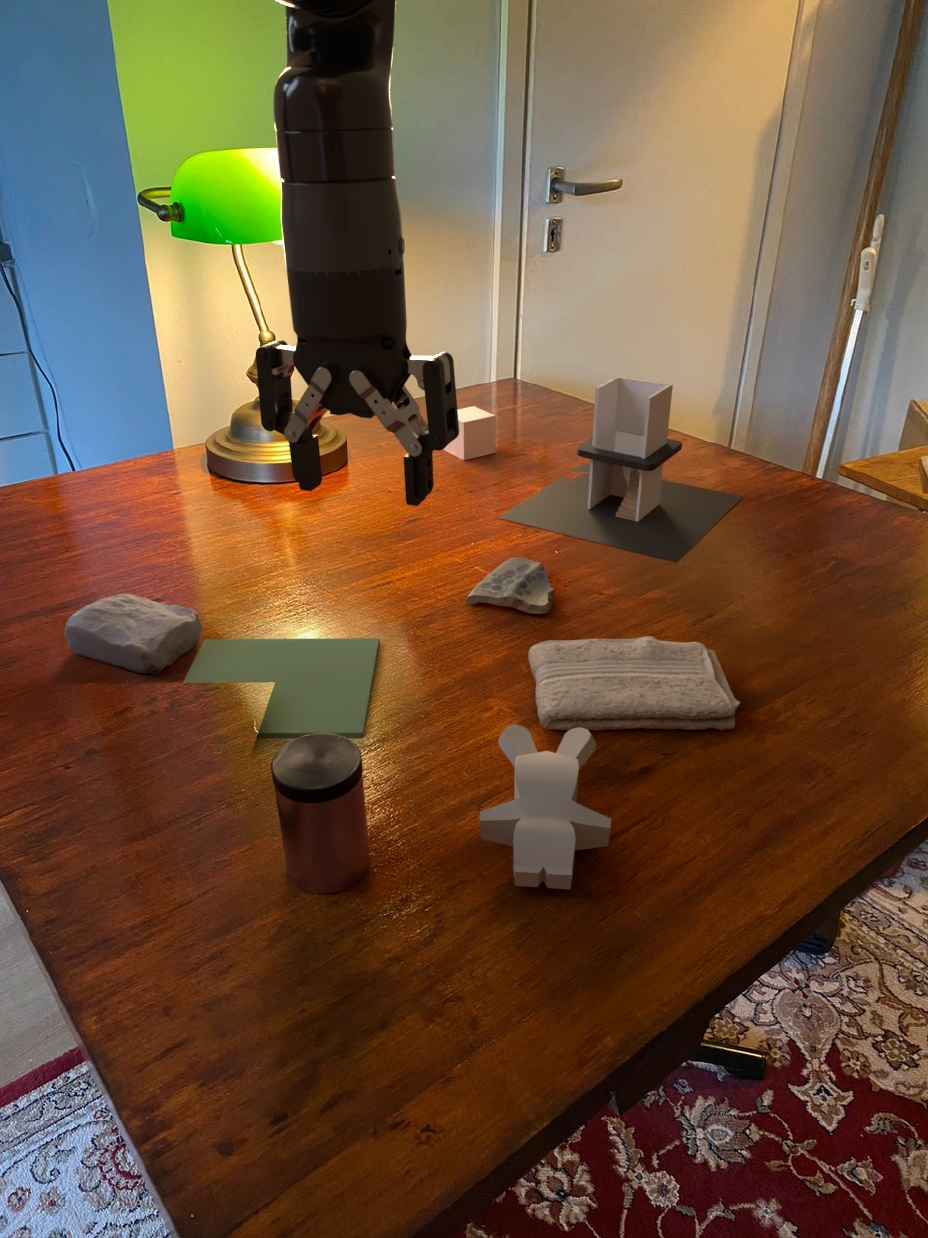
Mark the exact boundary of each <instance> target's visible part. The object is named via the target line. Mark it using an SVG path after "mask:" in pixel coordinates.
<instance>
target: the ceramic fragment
mask: <svg viewBox="0 0 928 1238" xmlns="http://www.w3.org/2000/svg"><path fill="white" fill-rule="evenodd" d="M554 593H555V590H554V588H553V587H552V586H551V584H550V580H549V577H548V574H547V571H546V569H545V567H544V565H543V563H542V562H541V561H534V560H531V559H528V558H526V557H523V556H517V557H516V556H515V557H510V558H507V559H506V560H505V561H503V562H501V564H499V565H498V566H497V567H495V569H493V570H492V571H490V573H488V574H487V575H486V576H485V577H484V578H483V579H482V580H481V581H479V582H478V583H477V584H476V585H475V587H473V589H472V590H471V591H470V592H469V594H468V595H467V597H466V598H465V604H467V605H470V606H471V605H475V604H479V603H480V604H482V603H483V604H485V603H486V604H490V605H493V606H499V607H509V608H514V609H516V610H519V611H521V612H525V613H528V614H533V615H542V614H548V613H549V612H551V611H552V606H553V602H554V599H555V594H554Z"/></svg>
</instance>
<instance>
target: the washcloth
mask: <svg viewBox="0 0 928 1238" xmlns="http://www.w3.org/2000/svg"><path fill="white" fill-rule="evenodd" d="M527 659H528V663H529V666H530V671H531V674H532V677H533V678H534V680H535V689H534V691H535V705H536V708H537V710H536V712H537V714H538V718H539V723H540V725H541V726H542V728H543V729H545V730H549V731H551V730H554V731H566V732H568V731H569V730H571V729H574V728H579V727H581V728H585V729H588V731H604V730H632V729H640V728H641V729H646V730H648V729H652V730H655V729H656V730H659V729H661V730H675V729H679V730H680V729H681V730H683V731H688V730H690V731H696V730H697V731H698V730H707V729H714V730H718V731H722V732H723V731H724V730H733V729H734V728H735V727H736V717H735V716H736V710H737V709H738V707H739V706H740V705H741V702H740V701H739V700H737V698H735V695H734V693H733V692H732V690H731V686H730V685H729V682H728V680H727V677H726V675H725V672H724V670H723V667H722V665H721V663H720V660H719V659H718V657H717V654H716V651H715V650H713V649H708V648H706V645H705V644H703V643H702V642H699V641H691V642H690V641H689V642H684V641H683V642H682V641H679V642H678V641H667V640H660V639H657V638H656V637H655V636H651V635H645V636H641V637H636V638H587V639H574V640H573V639H572V640H571V639H568V640H567V639H566V640H564V639H563V640H557V639H556V640H554V639H550V640H545V641H542V642H539V643H535V644H534V645H532V646H531V647H530V648H529V650H528V654H527Z"/></svg>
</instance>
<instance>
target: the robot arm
mask: <svg viewBox="0 0 928 1238" xmlns="http://www.w3.org/2000/svg"><path fill="white" fill-rule="evenodd" d="M275 1H276V2H279V4H283V5H285V6H284V7H285V26H286V27H285V28H286V66H285V69H284V70H283V71H282V72H281V74H280V75H279V76H278V78H277V80H276V81H275V85H274V87H273V88H274V89H273V98H272V99H273V100H272V101H273V106H272V107H273V121H274V130H275V140H276V149H277V159H278V167H279V176H280V179H281V180H280V191H281V192H280V194H281V197H280V200H281V201H280V224H281V234H282V246H283V251H284V262H285V270H286V271H285V272H286V281H287V289H288V298H289V299H288V300H289V307H290V317H291V326H292V329H293V333H294V334H295V335H296V346H291V345H288V343H287V341H285V340H284V339H276V340H274V341H272V342H269V343H267V344H264V345H262V346H259V347H257V349H256V351H255V362H256V375H257V387H258V388H257V389H258V400H259V413H260V414H259V415H260V424H261V426H262V429H264V430H265V431H267V432H273V431H274V432H277V433H278V434H281V435H282V436H284V438H285V440H286V441H287V442H288V446H289V454H290V455H289V456H290V463H291V467H292V468H291V471H292V477H293V479H294V481H295V482H296V483H298V487H299V489H300V490H301V491H305V492H312V491H314V490H315V489H317V488H318V487H319V486H321V485H322V483H323V472H322V462H321V453H320V443H319V435H318V434H314V431H315V430H316V428H317V427H318V425H319V424H320V422H321V420H322V419H323V417H324V416H325V414H326V413H327V412H328V411H329V415H332V416H343V415H348V414H350V415H353V416H356V417H358V418H360V419H361V418H362V419H373V418H374V417H377V419H378V421H379V422H380V423H381V425H382V426H383V427H384V429H385V430H386V431H387V432H390V433H393V435H394V437H396V439H397V440H398V442H399V443H400V444H401V447H403V449H404V450H405V451H406V454H405V455H404V456H403V471H404V490H405V491H404V492H405V503H406V505H407V506H414V507H419V506H420V504H421V503H423V502H424V501H425V499H426V498H427V497H428V496H429V495H430V494H431V493H432V491H433V488H434V486H435V484H434V458H433V456H434V455H433V454H434V453H433V452H434V451H438V452H439V451H440V452H441V451H444V450H443V449H444V448H445V447H446V446H447V445H448V444H449V443H450V442H452V441H453V440H455V439H456V438H457V437H458V435H459V423H458V411H457V410H458V402H457V401H458V400H457V399H458V398H457V387H456V374H455V363H454V362H455V361H454V357H453V356H452V355H451V354H450V353H449V352H448V351H440V353H439V354H435V355H433V356H432V355H412V353H411V351H410V348H409V346H408V342H407V327H408V322H407V319H408V318H407V303H406V302H407V301H406V299H407V298H406V281H405V280H406V279H405V262H404V261H405V260H404V254H405V250H406V249H405V248H406V247H405V238H404V237H403V222H402V213H401V207H400V201H399V196H398V188H397V179H396V177H395V176H396V164H395V162H396V160H395V144H394V142H395V139H394V129H393V128H394V124H393V114H392V104H391V94H390V93H391V91H390V89H391V74H392V65H393V53H394V42H395V41H394V40H395V24H396V23H395V22H396V8H397V0H275ZM295 369H296V371H297V372H298V374H299V375H300V376H301V378H302V379H303V381H304V382H305V383H306V385H307V387H306V389H305V391H304V393H303V394H302V396H301V397H300V399H299V401H298V402H297V404H296V405H295V407H293V393H292V374H293V373H294V372H295ZM411 375H412V376H413V377H414V378H415V379H416V383H417V386H418V388H419V389H421V390H422V391H423V392H424V398H425V399H424V400H425V410H426V420H427V421H426V420H425V418H424V417H423V416H422V415H421V410H420V406H419V404H418V402H417V401H416V400H415V398H414V397H413V395H412V394H411V392H410V391H409V389H407V387H406V383H407V382H408V380H409V379H410V377H411ZM393 404H394V405H395V406H394V405H393ZM395 407H396V408H395ZM293 409H294V410H293Z"/></svg>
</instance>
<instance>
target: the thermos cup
mask: <svg viewBox="0 0 928 1238" xmlns="http://www.w3.org/2000/svg"><path fill="white" fill-rule="evenodd" d="M363 771H364V767H363V756H362V752H361V750H360V748H359V746H358V745H357V744H356V743H355V742H354V741H353V740H351V739H349V737H343V736H340V735H336V734H329V733H318V734H310V735H305V736H302V737H295V738H294V739H291V740H289V741H288V742H287V743H285V744H284V745H282V746H281V747H280V748H278V750H277V751H276V752H275V753H274V755H273V757H272V760H271V763H270V772H271V779H272V783H273V787H274V793H275V794H274V795H275V801H276V808H277V814H278V820H279V827H280V833H281V834H280V835H281V840H282V846H283V853H284V854H283V855H284V860H285V861H284V862H285V868H286V873H287V876H288V877H289V879H290V881H291V882H292V883H293V884H294V885H295V886H296V887H297V888H299V889H301V890H303V891H305V892H308V893H312V894H320V895H325V894H334V893H337V892H341V891H344V890H347V889H349V888H350V887H353V886H354V885H355V884H356V883H358V882H359V881H360V880H361V879H362V878H363V877H364V875H365V874H366V873H367V871H368V869H369V867H370V860H371V859H370V846H369V845H370V844H369V834H368V823H367V812H366V811H367V810H366V798H365V787H364V775H363Z"/></svg>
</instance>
